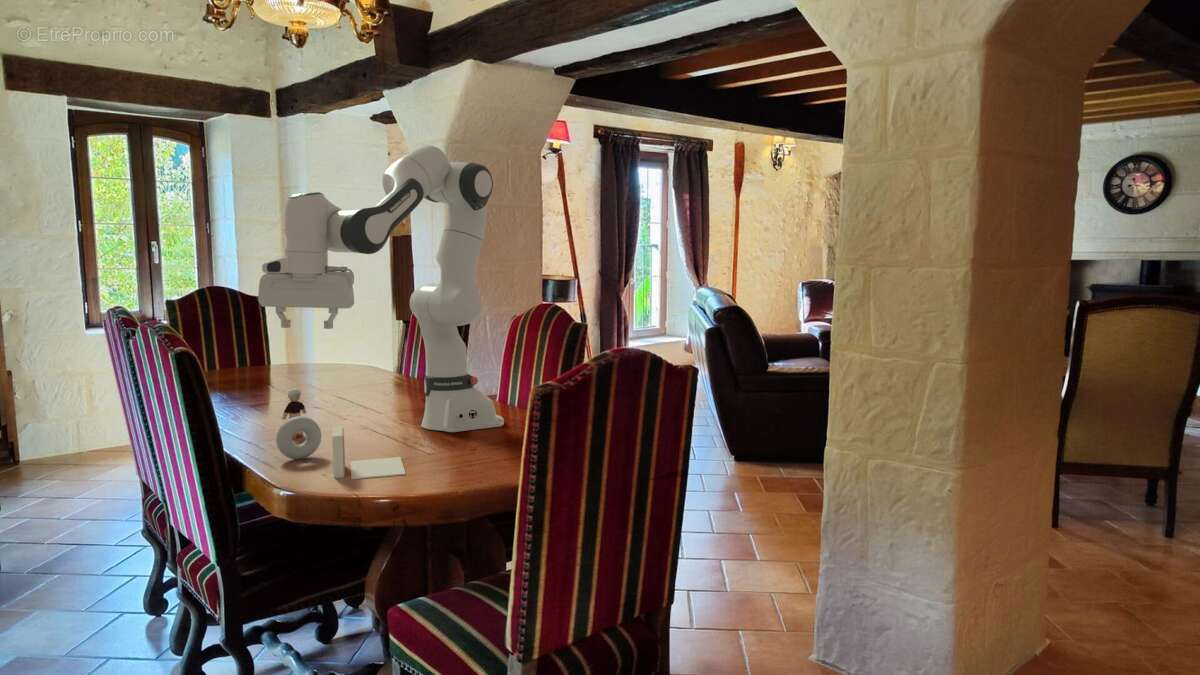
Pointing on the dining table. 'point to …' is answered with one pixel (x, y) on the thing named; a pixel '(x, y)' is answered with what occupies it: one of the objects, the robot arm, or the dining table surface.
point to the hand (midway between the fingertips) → (307, 328)
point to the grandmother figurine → (294, 408)
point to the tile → (338, 452)
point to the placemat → (377, 468)
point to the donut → (287, 432)
